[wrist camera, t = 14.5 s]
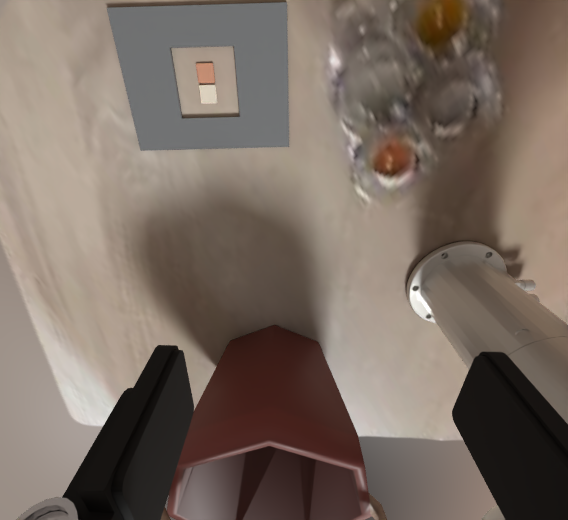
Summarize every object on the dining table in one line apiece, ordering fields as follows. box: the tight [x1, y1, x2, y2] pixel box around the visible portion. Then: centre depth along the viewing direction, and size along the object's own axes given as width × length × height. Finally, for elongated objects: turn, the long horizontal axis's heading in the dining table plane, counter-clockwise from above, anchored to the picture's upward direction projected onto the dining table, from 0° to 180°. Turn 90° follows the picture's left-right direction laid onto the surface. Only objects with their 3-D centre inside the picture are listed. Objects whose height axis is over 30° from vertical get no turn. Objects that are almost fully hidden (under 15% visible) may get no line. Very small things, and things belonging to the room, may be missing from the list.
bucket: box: [161, 325, 387, 520], centre depth 37 cm, size 24×22×25 cm
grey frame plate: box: [107, 2, 289, 151], centre depth 29 cm, size 16×12×1 cm
